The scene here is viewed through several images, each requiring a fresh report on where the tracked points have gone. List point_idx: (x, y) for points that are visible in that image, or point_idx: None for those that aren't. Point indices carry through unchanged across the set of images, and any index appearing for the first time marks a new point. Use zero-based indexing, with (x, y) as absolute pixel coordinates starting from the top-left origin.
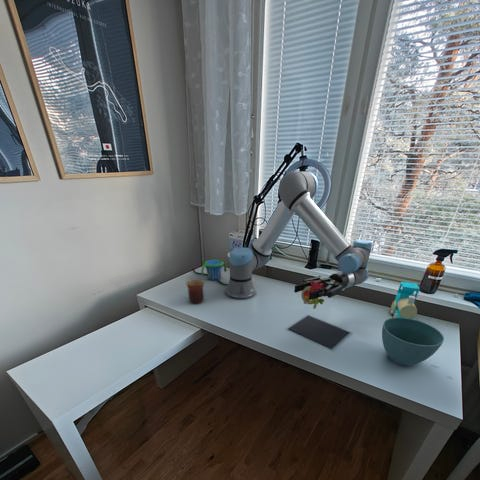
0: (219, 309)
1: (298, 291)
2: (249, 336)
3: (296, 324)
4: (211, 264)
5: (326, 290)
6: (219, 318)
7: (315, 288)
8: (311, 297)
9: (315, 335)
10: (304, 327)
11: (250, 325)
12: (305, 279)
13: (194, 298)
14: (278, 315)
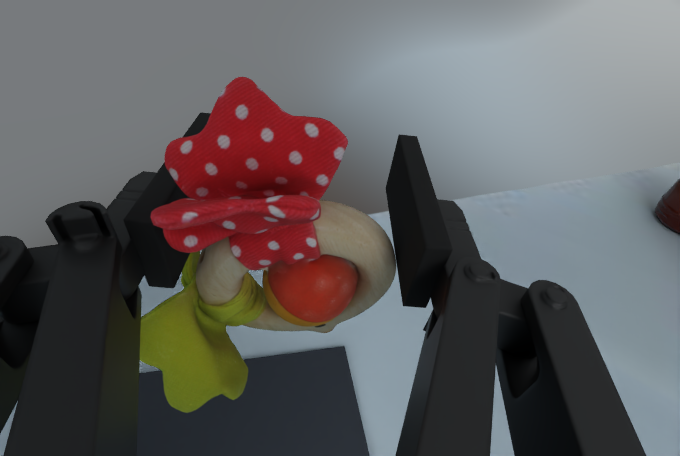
0: (603, 244)
1: (389, 208)
2: (382, 216)
3: (351, 415)
4: None
5: (65, 231)
6: (529, 215)
7: (236, 195)
8: None
9: (192, 414)
10: (296, 432)
11: None
12: (585, 330)
13: (667, 192)
14: (498, 414)
